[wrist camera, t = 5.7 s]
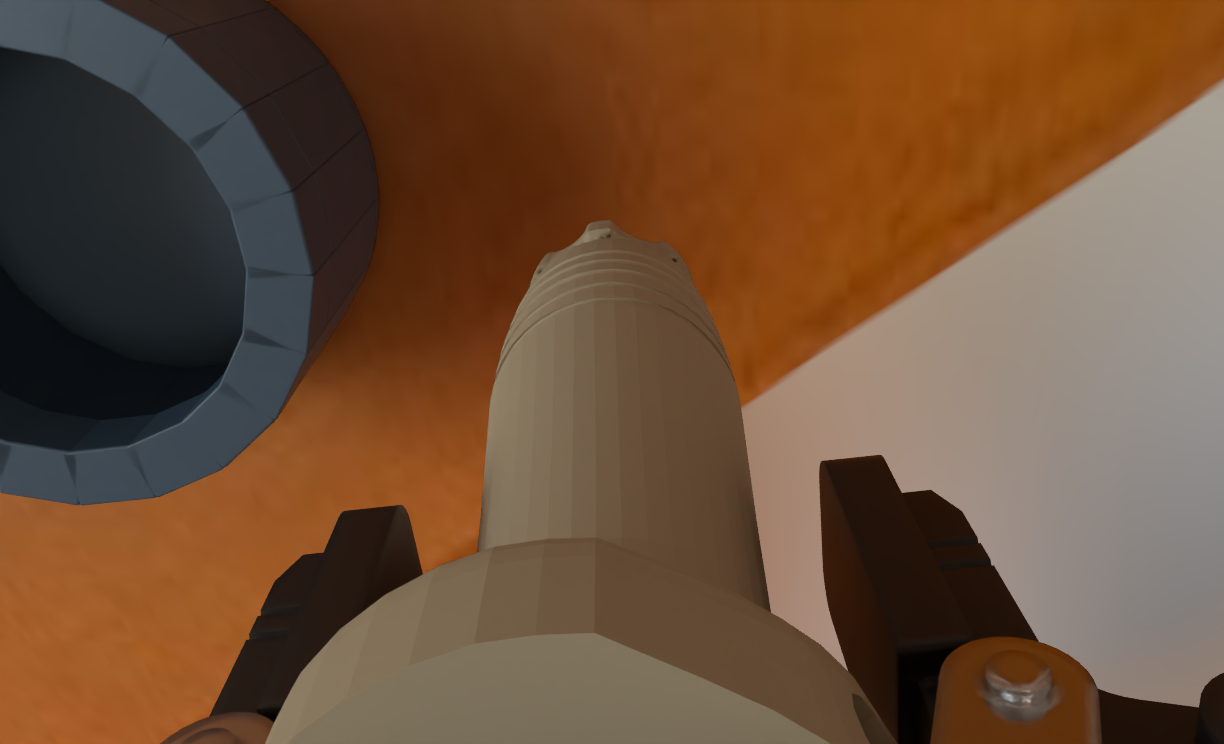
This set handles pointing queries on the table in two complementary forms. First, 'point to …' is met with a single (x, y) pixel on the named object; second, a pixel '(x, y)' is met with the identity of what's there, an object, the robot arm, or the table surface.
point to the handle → (594, 551)
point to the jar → (165, 236)
